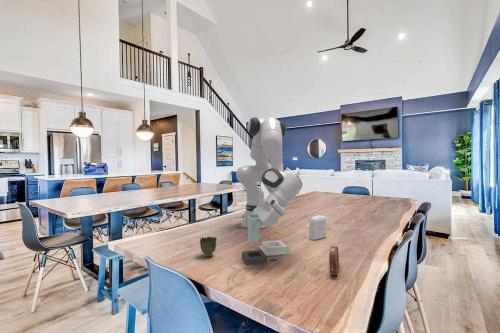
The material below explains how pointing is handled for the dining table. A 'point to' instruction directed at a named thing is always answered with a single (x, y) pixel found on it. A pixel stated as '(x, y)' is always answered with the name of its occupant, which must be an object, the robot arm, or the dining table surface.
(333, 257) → the tin
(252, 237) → the plug
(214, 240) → the cup
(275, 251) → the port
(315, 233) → the photo printer
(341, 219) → the dining table surface
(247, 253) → the holster
